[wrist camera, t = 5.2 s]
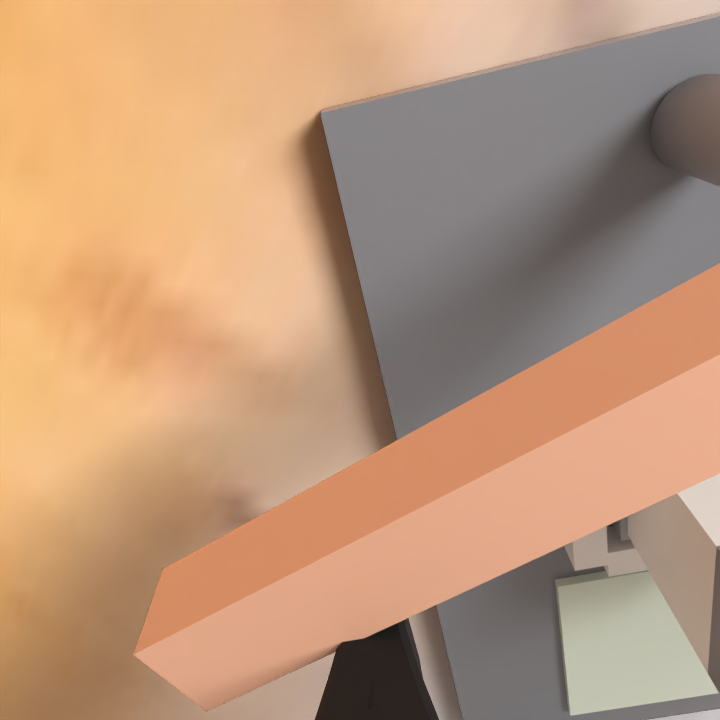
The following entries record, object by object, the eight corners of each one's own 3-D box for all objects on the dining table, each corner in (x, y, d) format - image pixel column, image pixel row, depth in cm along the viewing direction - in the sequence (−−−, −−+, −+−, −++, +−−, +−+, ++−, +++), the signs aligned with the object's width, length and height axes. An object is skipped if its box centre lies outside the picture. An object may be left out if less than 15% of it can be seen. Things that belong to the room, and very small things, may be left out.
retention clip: (755, 137, 13) (1243, 247, 6) (272, 423, 17) (214, 718, 9) (727, 52, 13) (1248, 63, 5) (226, 370, 16) (123, 647, 9)
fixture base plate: (1059, -71, 13) (1175, -89, 11) (870, 658, 24) (912, 708, 22) (321, 109, 14) (318, 118, 12) (464, 721, 25) (474, 773, 23)
